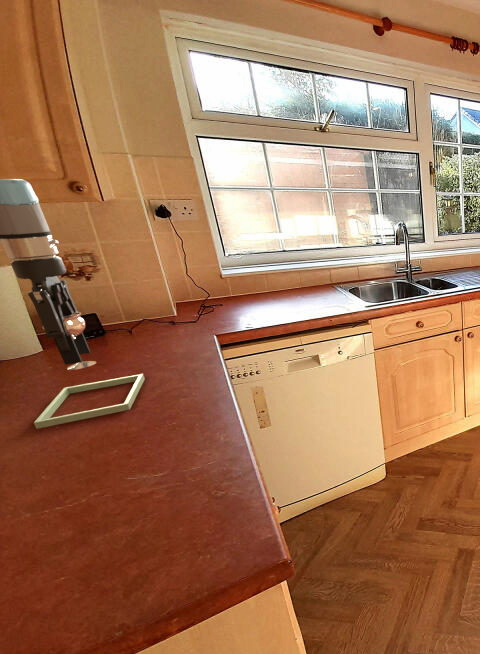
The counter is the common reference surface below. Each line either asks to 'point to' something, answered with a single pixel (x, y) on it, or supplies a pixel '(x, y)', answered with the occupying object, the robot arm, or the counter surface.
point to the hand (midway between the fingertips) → (78, 358)
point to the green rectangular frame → (46, 421)
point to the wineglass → (75, 328)
